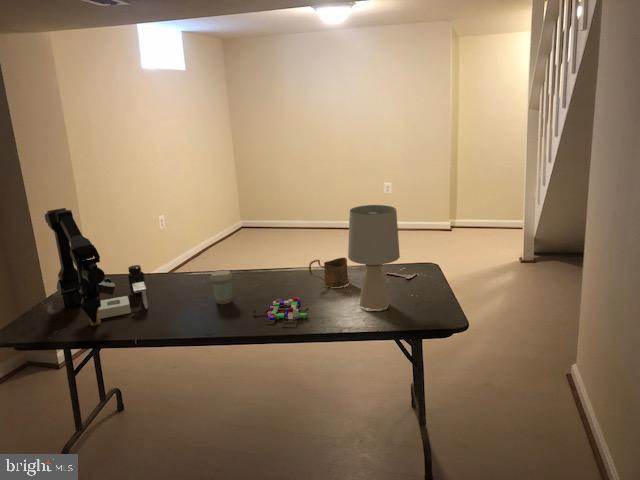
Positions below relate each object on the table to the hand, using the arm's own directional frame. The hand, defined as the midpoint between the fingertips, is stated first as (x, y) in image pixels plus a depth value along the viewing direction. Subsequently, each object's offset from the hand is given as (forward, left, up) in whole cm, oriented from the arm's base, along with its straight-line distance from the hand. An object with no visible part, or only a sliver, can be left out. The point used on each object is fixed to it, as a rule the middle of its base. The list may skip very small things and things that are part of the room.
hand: (94, 317), depth 186 cm
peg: (0, 0, -2) cm, 2 cm away
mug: (+91, -8, -2) cm, 91 cm away
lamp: (+96, -37, -2) cm, 103 cm away
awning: (+17, +9, -2) cm, 19 cm away
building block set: (+63, -25, -3) cm, 68 cm away
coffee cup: (+47, -3, -2) cm, 47 cm away
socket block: (+7, +9, -2) cm, 12 cm away
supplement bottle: (+17, +24, -2) cm, 30 cm away
